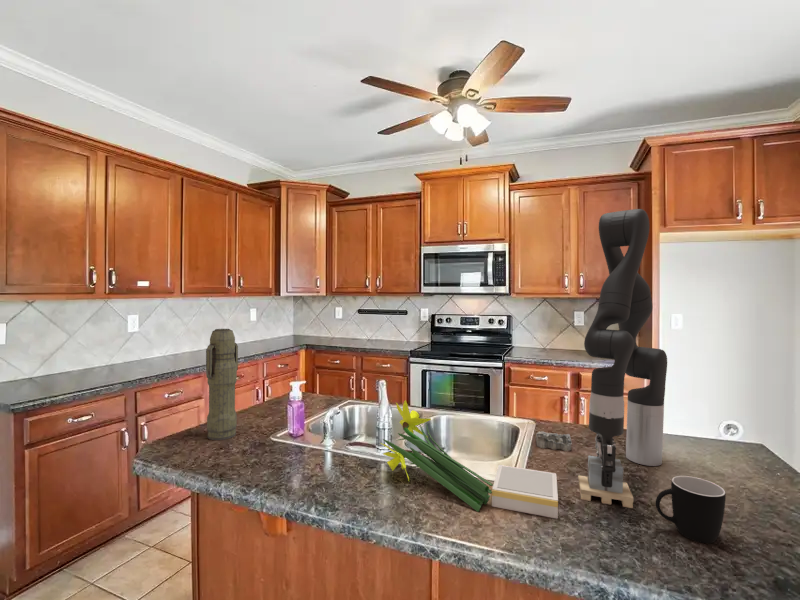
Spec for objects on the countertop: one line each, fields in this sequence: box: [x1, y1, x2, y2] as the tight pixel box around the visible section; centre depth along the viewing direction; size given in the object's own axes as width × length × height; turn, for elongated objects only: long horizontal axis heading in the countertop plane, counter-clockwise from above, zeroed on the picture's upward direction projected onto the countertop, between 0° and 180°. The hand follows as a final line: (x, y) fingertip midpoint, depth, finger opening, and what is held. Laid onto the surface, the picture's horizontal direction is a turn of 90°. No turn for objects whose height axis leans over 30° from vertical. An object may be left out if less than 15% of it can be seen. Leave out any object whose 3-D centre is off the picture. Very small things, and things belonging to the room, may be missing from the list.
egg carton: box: [535, 431, 573, 452], centre depth 131 cm, size 11×8×4 cm
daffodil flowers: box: [380, 400, 494, 513], centre depth 104 cm, size 17×15×35 cm
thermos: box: [205, 328, 239, 441], centre depth 135 cm, size 9×12×35 cm
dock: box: [491, 464, 559, 519], centre depth 98 cm, size 14×14×4 cm
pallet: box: [577, 455, 634, 509], centre depth 99 cm, size 8×11×8 cm
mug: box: [655, 475, 727, 544], centre depth 84 cm, size 12×9×10 cm
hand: (604, 478), depth 99 cm, fingers open, 8 cm apart
